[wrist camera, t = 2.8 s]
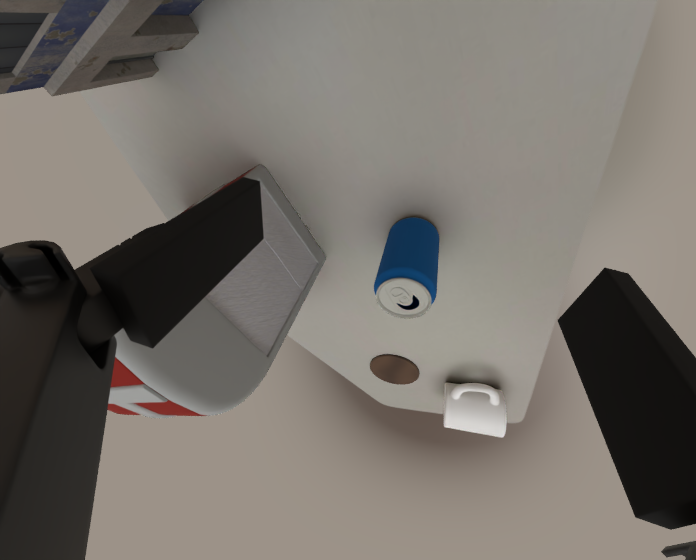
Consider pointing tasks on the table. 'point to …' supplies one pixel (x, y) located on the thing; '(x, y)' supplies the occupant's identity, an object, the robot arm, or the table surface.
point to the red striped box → (224, 325)
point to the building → (87, 41)
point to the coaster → (394, 369)
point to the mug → (475, 408)
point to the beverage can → (408, 269)
